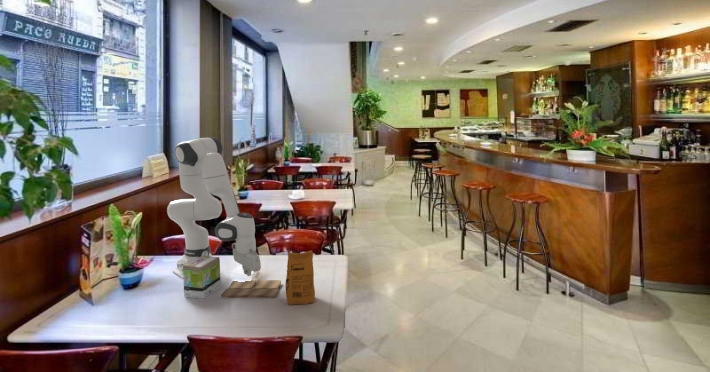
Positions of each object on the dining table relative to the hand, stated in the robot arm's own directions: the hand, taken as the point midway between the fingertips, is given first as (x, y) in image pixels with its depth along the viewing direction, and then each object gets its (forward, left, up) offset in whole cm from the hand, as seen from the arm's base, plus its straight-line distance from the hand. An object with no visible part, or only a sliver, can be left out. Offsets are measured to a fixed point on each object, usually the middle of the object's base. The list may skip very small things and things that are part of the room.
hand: (247, 274), depth 201 cm
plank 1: (+1, -4, -4) cm, 6 cm away
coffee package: (+34, 0, -5) cm, 34 cm away
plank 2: (+11, +3, -4) cm, 12 cm away
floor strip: (+11, -8, -5) cm, 14 cm away
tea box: (-10, -18, -5) cm, 21 cm away
